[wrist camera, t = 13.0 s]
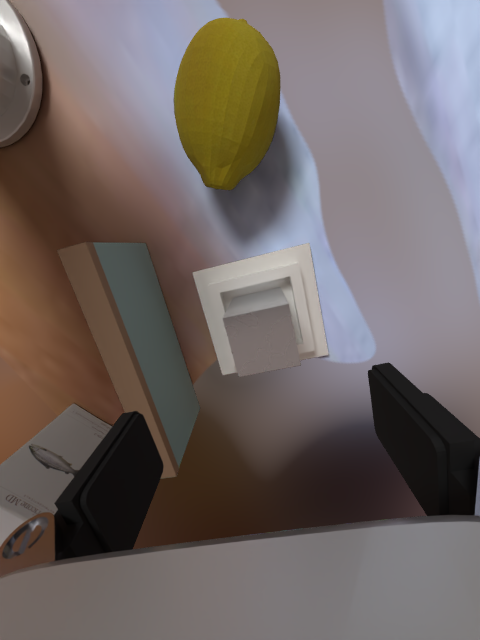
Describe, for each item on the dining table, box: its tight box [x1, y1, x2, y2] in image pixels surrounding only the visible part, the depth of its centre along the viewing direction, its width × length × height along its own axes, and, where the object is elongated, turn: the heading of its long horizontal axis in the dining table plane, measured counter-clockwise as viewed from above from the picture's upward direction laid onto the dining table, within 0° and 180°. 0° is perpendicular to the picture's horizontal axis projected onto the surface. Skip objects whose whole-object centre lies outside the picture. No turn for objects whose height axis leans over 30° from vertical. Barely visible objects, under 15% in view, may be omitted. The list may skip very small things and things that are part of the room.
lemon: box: [174, 18, 280, 190], centre depth 20 cm, size 11×8×8 cm
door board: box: [57, 242, 200, 479], centre depth 25 cm, size 20×2×10 cm, turn 14°
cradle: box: [192, 243, 328, 375], centre depth 27 cm, size 12×12×2 cm
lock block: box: [223, 287, 301, 377], centre depth 24 cm, size 5×5×8 cm
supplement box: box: [0, 404, 112, 546], centre depth 28 cm, size 7×7×13 cm
